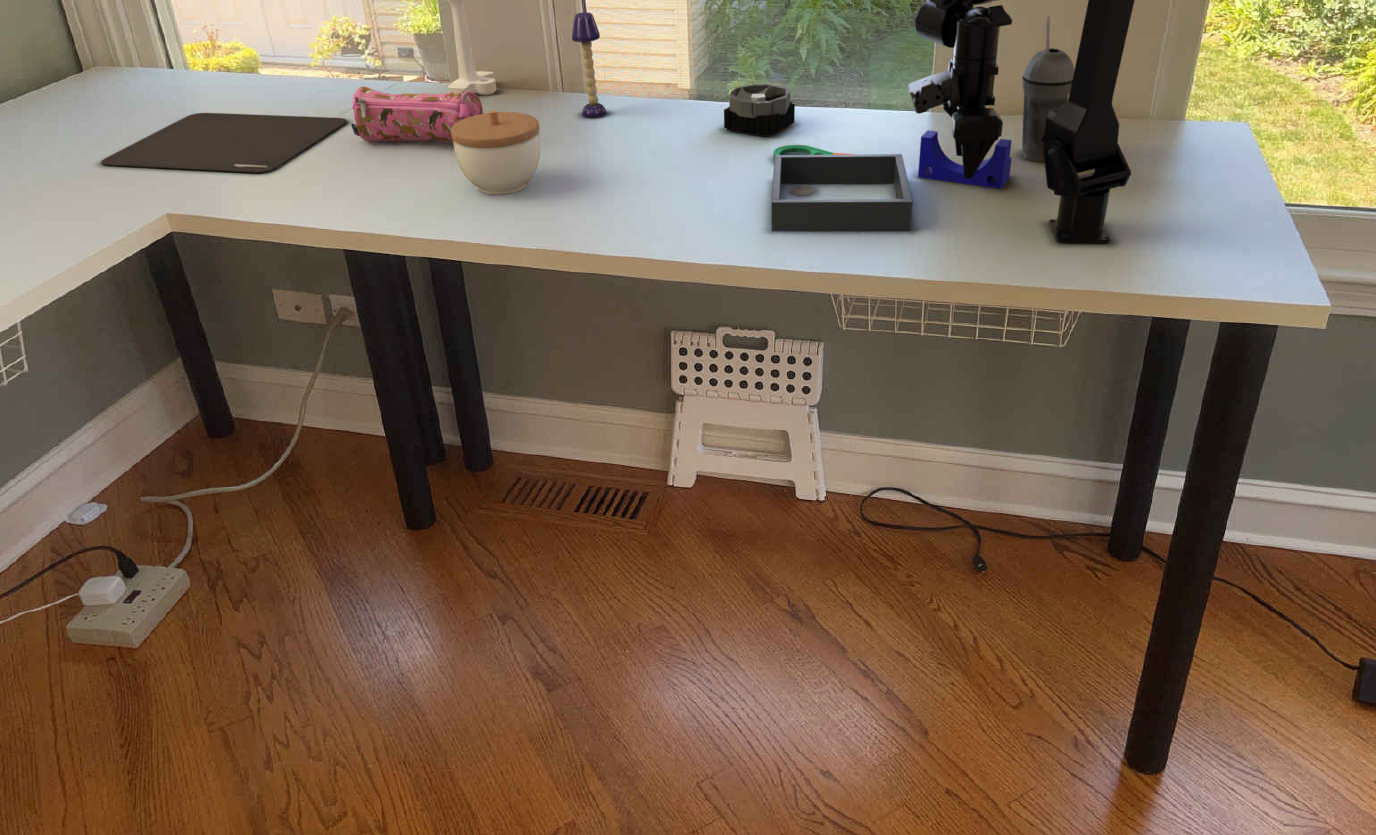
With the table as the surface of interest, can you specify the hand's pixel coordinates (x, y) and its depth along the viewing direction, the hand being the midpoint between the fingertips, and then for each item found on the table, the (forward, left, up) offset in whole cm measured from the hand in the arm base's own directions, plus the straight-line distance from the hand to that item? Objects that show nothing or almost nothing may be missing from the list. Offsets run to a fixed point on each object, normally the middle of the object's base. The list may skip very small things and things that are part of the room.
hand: (964, 166), depth 157 cm
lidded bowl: (-2, +67, -2) cm, 67 cm away
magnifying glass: (+7, +20, -2) cm, 21 cm away
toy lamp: (+32, +59, -2) cm, 67 cm away
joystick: (+46, +83, -2) cm, 95 cm away
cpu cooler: (+24, +30, -2) cm, 39 cm away
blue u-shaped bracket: (0, 0, -2) cm, 2 cm away
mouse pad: (+19, +119, -2) cm, 121 cm away
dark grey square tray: (-10, +18, -2) cm, 21 cm away
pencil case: (+18, +85, -2) cm, 87 cm away
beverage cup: (+9, -12, -2) cm, 15 cm away
